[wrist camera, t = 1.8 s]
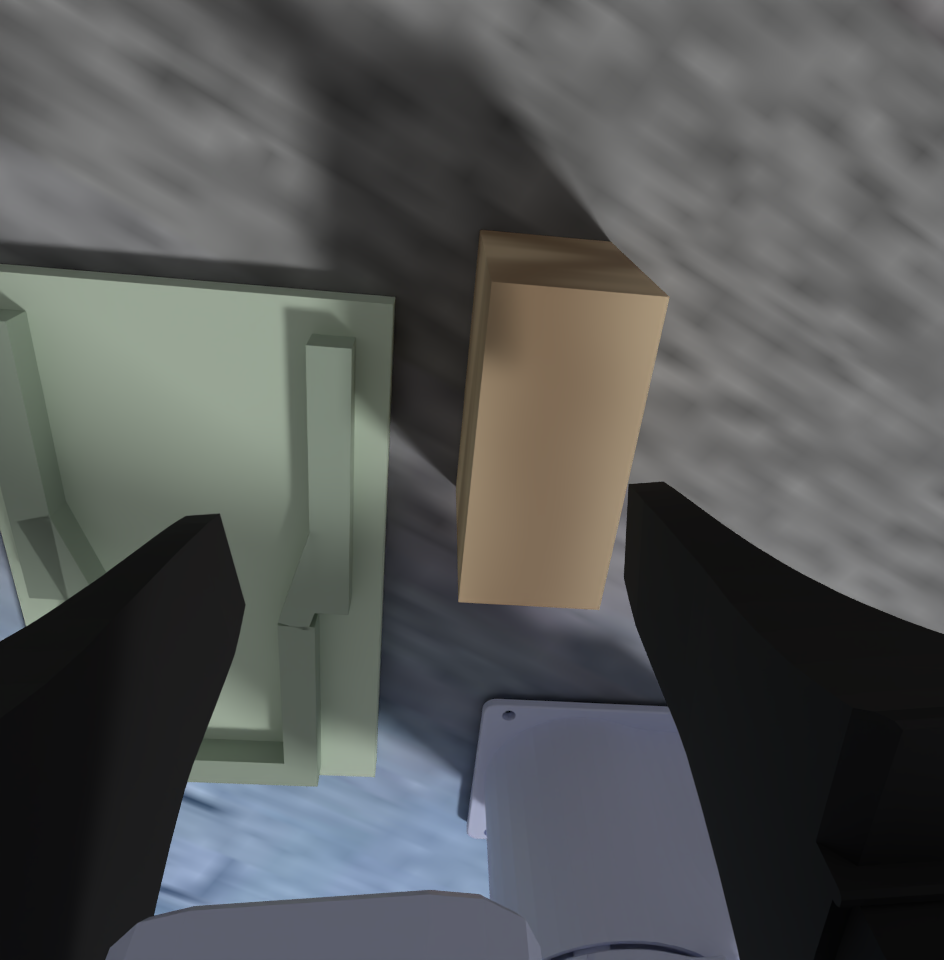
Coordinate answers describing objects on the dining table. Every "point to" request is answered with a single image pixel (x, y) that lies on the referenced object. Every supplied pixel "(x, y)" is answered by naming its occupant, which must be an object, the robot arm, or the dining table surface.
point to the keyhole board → (213, 482)
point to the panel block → (550, 416)
